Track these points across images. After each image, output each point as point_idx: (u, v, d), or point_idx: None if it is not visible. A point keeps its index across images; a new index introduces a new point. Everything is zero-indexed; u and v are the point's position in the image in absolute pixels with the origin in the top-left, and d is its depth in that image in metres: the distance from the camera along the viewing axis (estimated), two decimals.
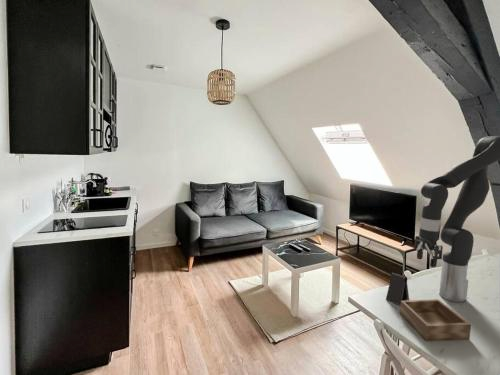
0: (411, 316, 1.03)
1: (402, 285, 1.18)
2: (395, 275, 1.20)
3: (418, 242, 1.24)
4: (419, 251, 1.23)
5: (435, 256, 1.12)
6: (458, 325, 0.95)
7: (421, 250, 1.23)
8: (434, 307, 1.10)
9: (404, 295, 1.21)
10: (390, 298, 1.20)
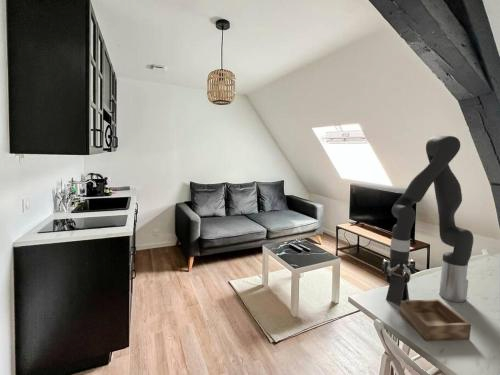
0: (411, 316, 1.03)
1: (402, 285, 1.18)
2: (395, 275, 1.20)
3: None
4: None
5: (413, 271, 1.19)
6: (458, 325, 0.95)
7: None
8: (434, 307, 1.10)
9: (404, 295, 1.21)
10: (390, 298, 1.20)
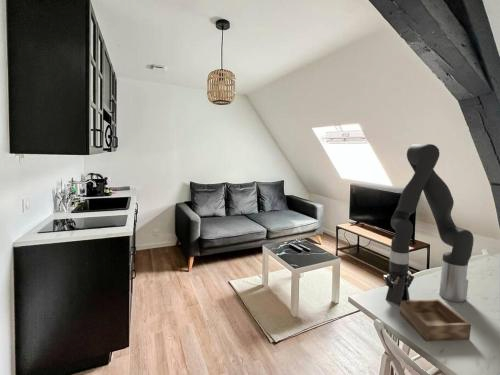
0: (411, 316, 1.03)
1: (402, 285, 1.18)
2: None
3: None
4: None
5: (408, 285, 1.20)
6: (458, 325, 0.95)
7: None
8: (434, 307, 1.10)
9: (404, 295, 1.21)
10: (390, 298, 1.20)
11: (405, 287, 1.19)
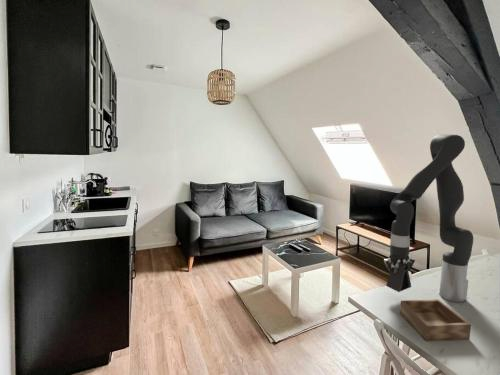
0: (411, 316, 1.03)
1: (402, 272, 1.17)
2: None
3: None
4: None
5: (409, 269, 1.19)
6: (458, 325, 0.95)
7: None
8: (434, 307, 1.10)
9: (406, 283, 1.20)
10: (390, 285, 1.20)
11: (406, 274, 1.18)
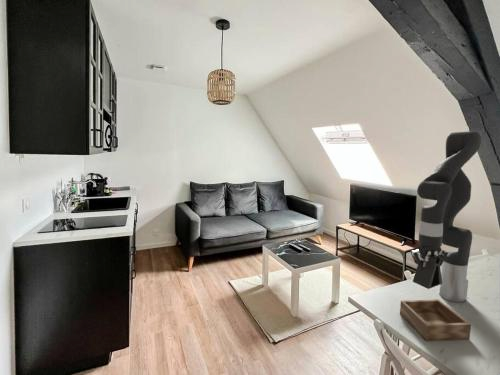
0: (411, 316, 1.03)
1: (433, 266, 1.00)
2: None
3: None
4: None
5: (441, 262, 1.02)
6: (458, 325, 0.95)
7: None
8: (434, 307, 1.10)
9: (436, 279, 1.03)
10: (417, 280, 1.04)
11: (437, 269, 1.02)
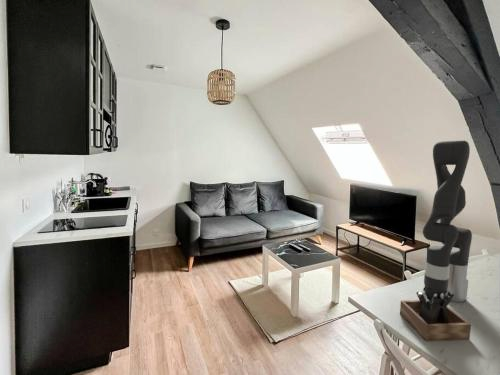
0: (411, 316, 1.03)
1: (436, 308, 0.99)
2: None
3: None
4: None
5: (446, 304, 1.01)
6: (458, 325, 0.95)
7: None
8: None
9: (442, 321, 1.01)
10: None
11: (442, 311, 1.00)
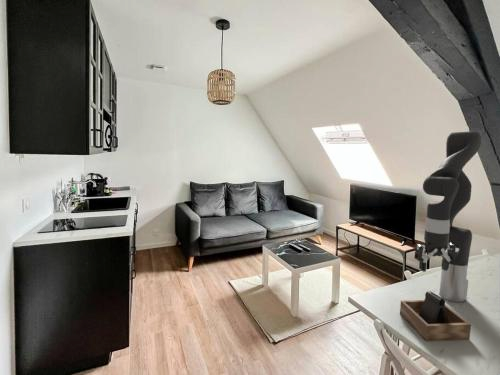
0: (411, 316, 1.03)
1: (436, 308, 0.99)
2: (430, 295, 1.02)
3: None
4: None
5: (453, 256, 1.00)
6: (458, 325, 0.95)
7: None
8: None
9: (442, 321, 1.01)
10: None
11: (442, 311, 1.00)
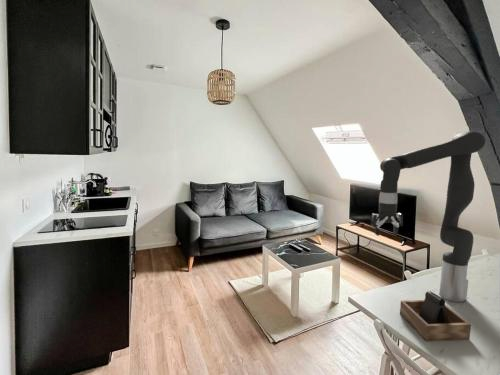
0: (411, 316, 1.03)
1: (436, 308, 0.99)
2: (430, 295, 1.02)
3: None
4: None
5: (401, 223, 1.24)
6: (458, 325, 0.95)
7: None
8: None
9: (442, 321, 1.01)
10: None
11: (442, 311, 1.00)
